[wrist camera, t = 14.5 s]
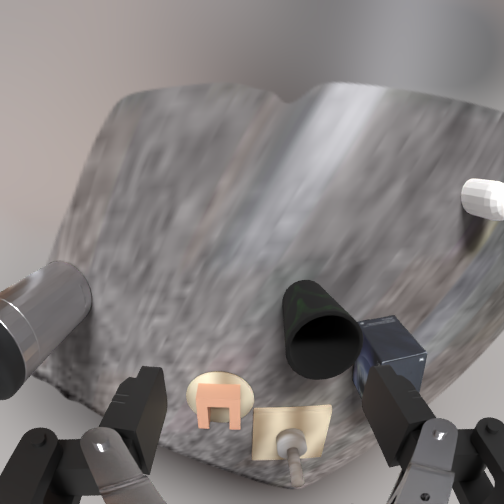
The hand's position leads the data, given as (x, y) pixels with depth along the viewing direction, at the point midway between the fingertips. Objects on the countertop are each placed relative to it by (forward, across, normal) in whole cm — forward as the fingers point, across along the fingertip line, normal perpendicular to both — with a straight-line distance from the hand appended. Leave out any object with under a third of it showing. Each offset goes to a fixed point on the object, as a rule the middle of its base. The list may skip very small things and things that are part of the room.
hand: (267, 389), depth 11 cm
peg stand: (+28, -7, +32) cm, 43 cm away
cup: (+28, -7, +8) cm, 30 cm away
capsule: (+28, -32, -7) cm, 43 cm away
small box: (+28, -18, +16) cm, 37 cm away
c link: (+28, +4, +24) cm, 37 cm away
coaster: (+28, +4, +24) cm, 37 cm away
